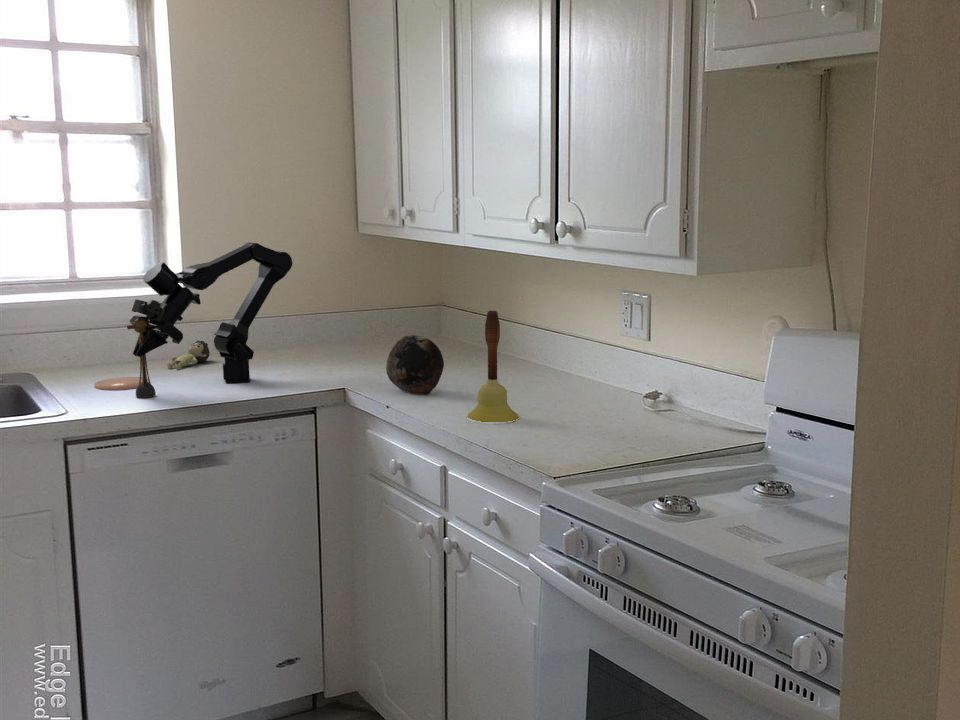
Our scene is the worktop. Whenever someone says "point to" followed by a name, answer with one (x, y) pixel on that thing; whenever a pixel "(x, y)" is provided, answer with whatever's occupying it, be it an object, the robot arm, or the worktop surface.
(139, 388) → the wooden tabletop sculpture
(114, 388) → the coaster
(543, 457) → the worktop surface
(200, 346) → the figurine
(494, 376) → the handbell
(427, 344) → the decorative stone
